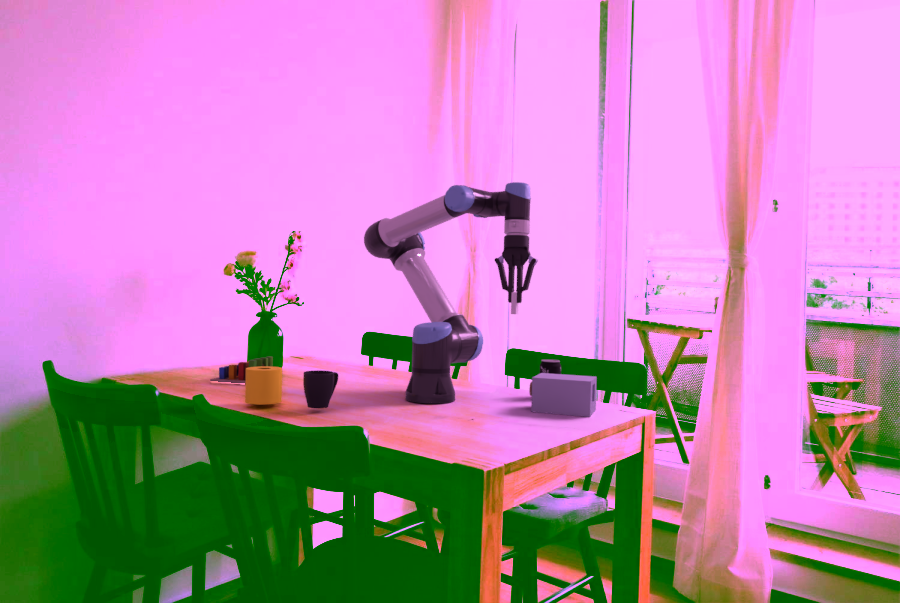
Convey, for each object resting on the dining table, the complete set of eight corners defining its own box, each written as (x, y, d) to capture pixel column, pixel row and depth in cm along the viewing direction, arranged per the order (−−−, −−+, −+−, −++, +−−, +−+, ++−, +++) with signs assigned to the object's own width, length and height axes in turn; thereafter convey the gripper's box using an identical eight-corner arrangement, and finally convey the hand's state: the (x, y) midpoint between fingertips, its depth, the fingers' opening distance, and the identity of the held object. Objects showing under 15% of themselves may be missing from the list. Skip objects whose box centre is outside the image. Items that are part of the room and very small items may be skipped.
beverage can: (559, 400, 206) (560, 361, 206) (538, 399, 208) (539, 360, 207) (560, 397, 213) (561, 359, 212) (539, 396, 214) (540, 358, 214)
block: (531, 411, 186) (532, 377, 185) (540, 405, 197) (541, 372, 197) (589, 416, 180) (591, 381, 180) (595, 409, 192) (596, 376, 191)
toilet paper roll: (266, 397, 198) (266, 365, 198) (288, 401, 192) (289, 368, 192) (237, 401, 190) (238, 368, 190) (260, 405, 184) (261, 371, 184)
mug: (348, 404, 189) (348, 370, 189) (319, 410, 179) (320, 374, 179) (325, 401, 194) (326, 368, 194) (296, 407, 183) (297, 372, 183)
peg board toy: (237, 377, 243) (238, 353, 243) (281, 380, 239) (282, 356, 239) (209, 383, 226) (209, 358, 226) (255, 386, 222) (256, 360, 222)
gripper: (492, 234, 200) (490, 313, 200) (535, 233, 195) (533, 315, 196) (499, 236, 207) (496, 313, 207) (540, 236, 202) (538, 314, 203)
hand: (514, 313), depth 201 cm, fingers closed
